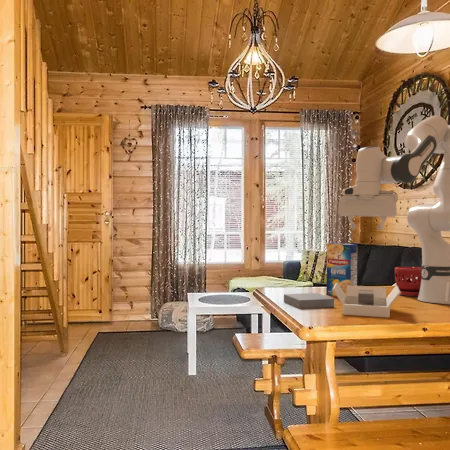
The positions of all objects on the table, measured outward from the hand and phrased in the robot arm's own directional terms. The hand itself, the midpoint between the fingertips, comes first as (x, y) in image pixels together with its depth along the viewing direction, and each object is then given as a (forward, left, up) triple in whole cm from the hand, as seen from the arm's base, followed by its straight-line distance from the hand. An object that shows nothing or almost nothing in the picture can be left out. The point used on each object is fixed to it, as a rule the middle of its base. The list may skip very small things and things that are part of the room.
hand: (366, 229), depth 169 cm
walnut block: (+2, +3, -29) cm, 29 cm away
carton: (+1, +2, -29) cm, 29 cm away
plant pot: (-38, -25, -29) cm, 54 cm away
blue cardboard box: (-8, -31, -29) cm, 43 cm away
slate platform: (+16, -14, -29) cm, 36 cm away
